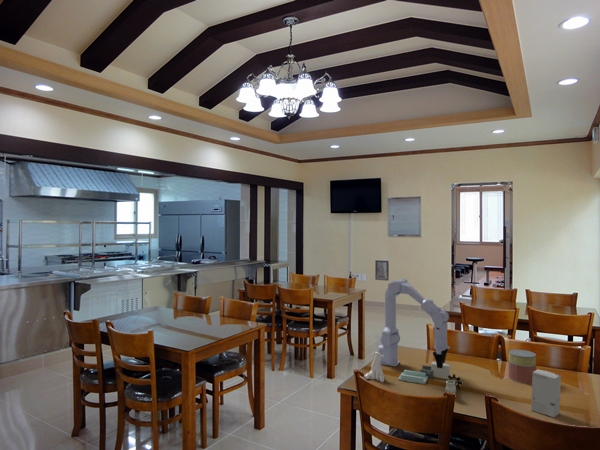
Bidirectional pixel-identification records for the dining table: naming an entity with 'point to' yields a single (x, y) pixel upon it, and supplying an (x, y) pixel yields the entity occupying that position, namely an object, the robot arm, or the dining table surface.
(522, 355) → the canned food
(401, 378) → the cradle
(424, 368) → the channel
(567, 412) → the dining table surface
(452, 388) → the valve
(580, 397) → the dining table surface
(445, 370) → the white block
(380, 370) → the sitting furry creature
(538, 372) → the skincare box
